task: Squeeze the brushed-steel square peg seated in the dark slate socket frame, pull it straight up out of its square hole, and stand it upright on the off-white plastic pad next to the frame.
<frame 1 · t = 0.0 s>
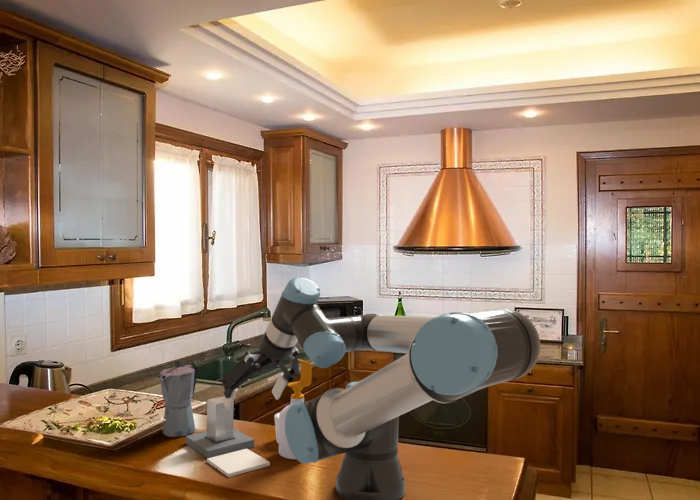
hand: (251, 400, 137), 15 cm above the countertop, tool tilted 35°, fingers open, 13 cm apart
moka pot: (179, 431, 158), on the countertop
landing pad: (238, 463, 136), on the countertop
steel peg: (220, 422, 148), in the socket frame
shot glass: (286, 441, 152), on the countertop
soap bottle: (296, 454, 143), on the countertop
socket frame: (219, 445, 148), on the countertop
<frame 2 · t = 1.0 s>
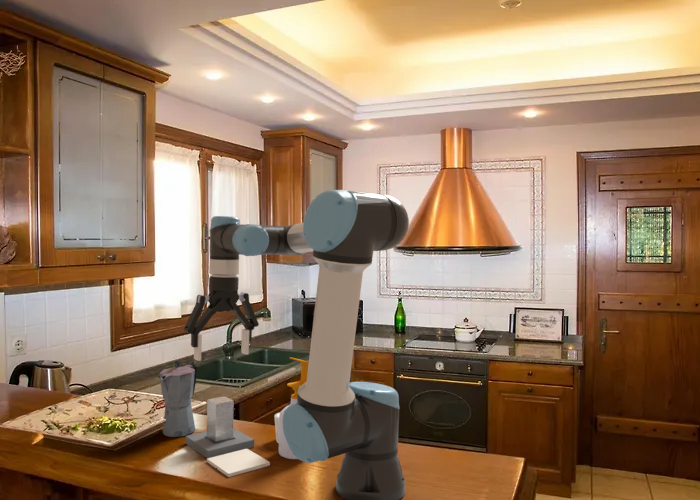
hand: (221, 356, 147), 23 cm above the countertop, tool pointing down, fingers open, 13 cm apart
nothing on the countertop moved.
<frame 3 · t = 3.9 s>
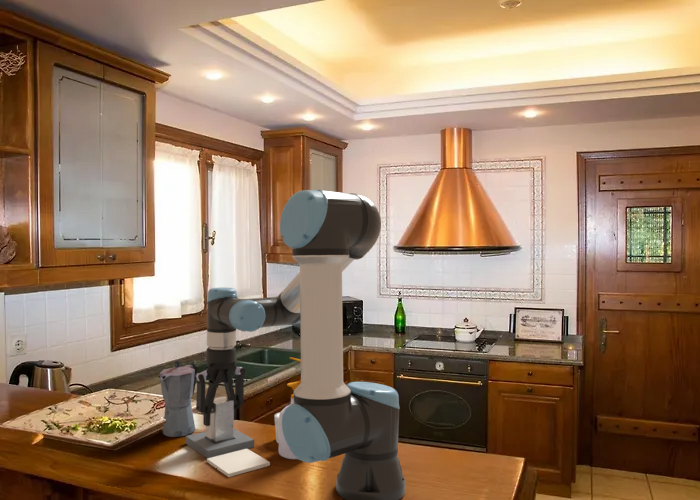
hand: (219, 434, 148), 3 cm above the countertop, tool pointing down, fingers closed on steel peg, 5 cm apart
steel peg: (220, 422, 148), in the socket frame, touching gripper
everything else where it was.
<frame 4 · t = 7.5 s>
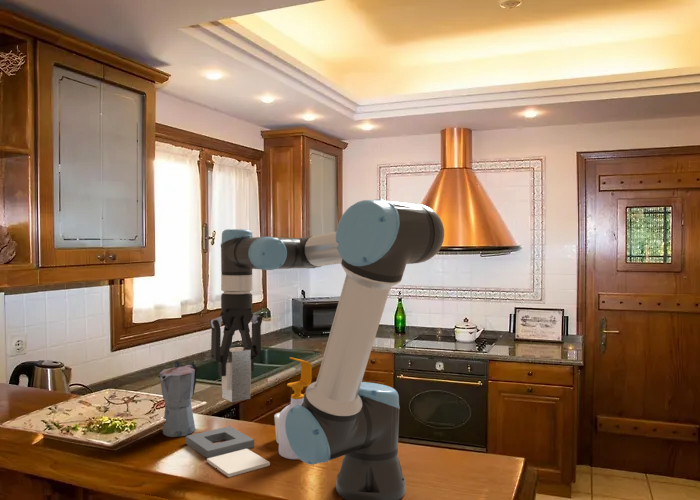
hand: (236, 386, 138), 18 cm above the countertop, tool pointing down, fingers closed on steel peg, 5 cm apart
steel peg: (236, 373, 138), point 21 cm above the countertop, touching gripper
everything else where it was.
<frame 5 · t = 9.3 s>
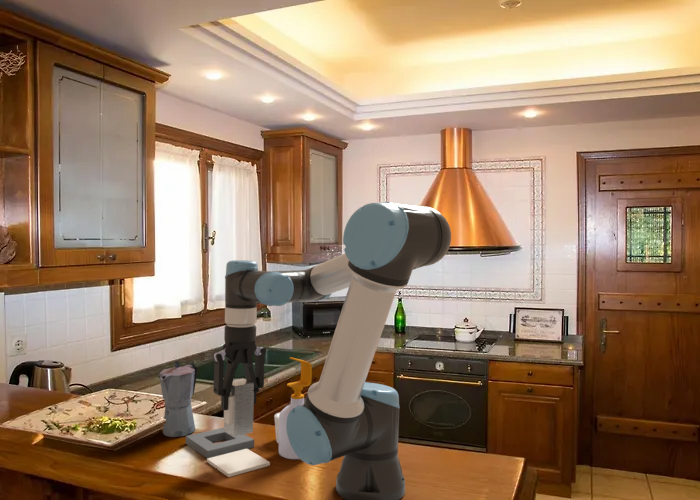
hand: (238, 420, 136), 11 cm above the countertop, tool pointing down, fingers closed on steel peg, 5 cm apart
steel peg: (238, 406, 136), point 14 cm above the countertop, touching gripper
everything else where it was.
when the fingers open (5 cm above the countertop, at t = 11.0 s): steel peg drops 2 cm, resting on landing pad.
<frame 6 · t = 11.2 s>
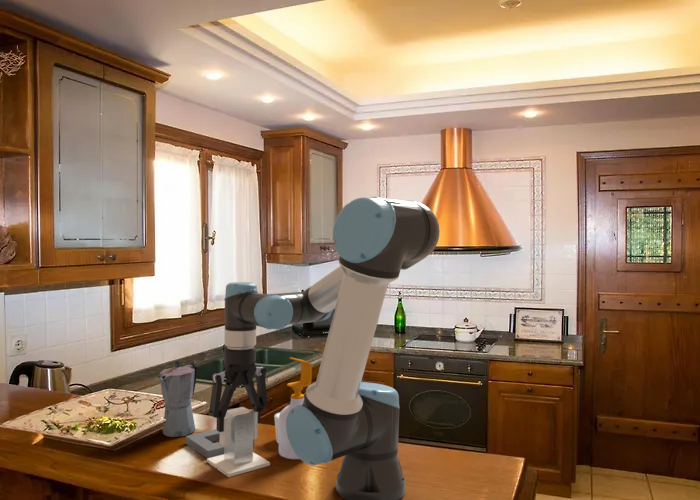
hand: (238, 440, 136), 6 cm above the countertop, tool pointing down, fingers open, 7 cm apart
steel peg: (238, 435, 136), on the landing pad, point 7 cm above the countertop
everything else where it was.
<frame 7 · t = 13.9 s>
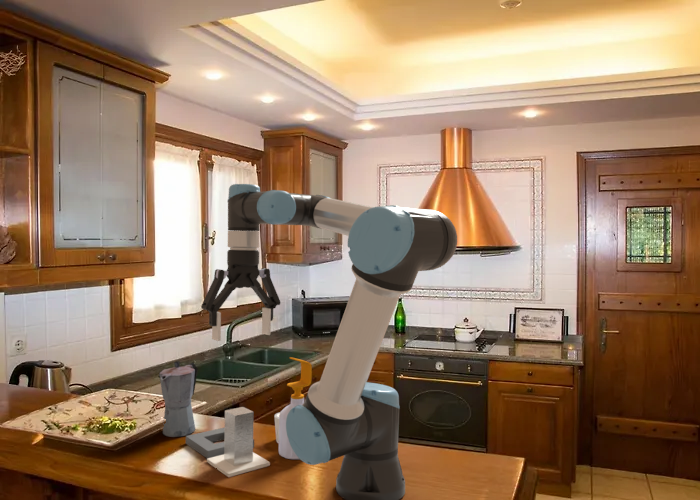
hand: (242, 337, 136), 31 cm above the countertop, tool pointing down, fingers open, 13 cm apart
nothing on the countertop moved.
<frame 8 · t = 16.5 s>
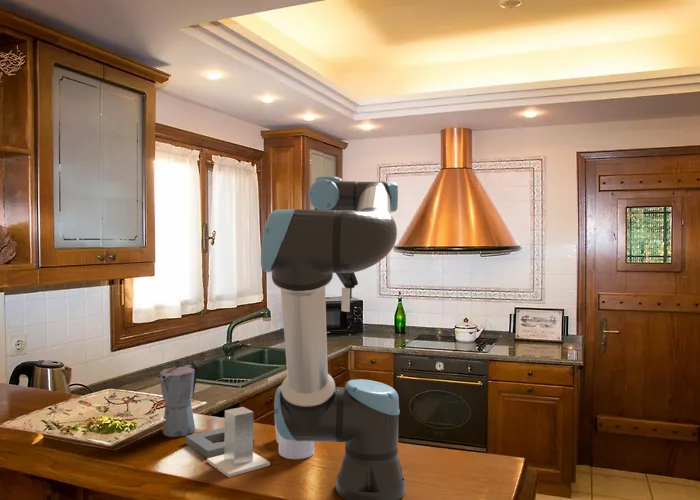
hand: (326, 313, 152), 35 cm above the countertop, tool pointing down, fingers open, 13 cm apart
nothing on the countertop moved.
at the end: steel peg inside the target area on the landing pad (0.0 cm from its centre), point 6.8 cm above the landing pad's base; steel peg tilted 0°; the gripper is holding nothing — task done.
